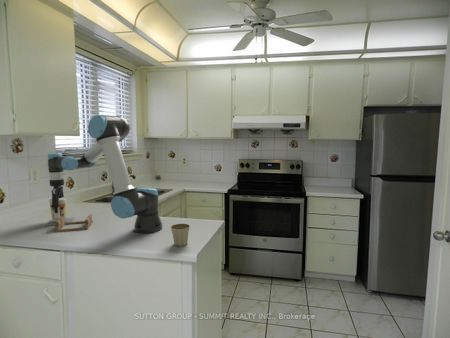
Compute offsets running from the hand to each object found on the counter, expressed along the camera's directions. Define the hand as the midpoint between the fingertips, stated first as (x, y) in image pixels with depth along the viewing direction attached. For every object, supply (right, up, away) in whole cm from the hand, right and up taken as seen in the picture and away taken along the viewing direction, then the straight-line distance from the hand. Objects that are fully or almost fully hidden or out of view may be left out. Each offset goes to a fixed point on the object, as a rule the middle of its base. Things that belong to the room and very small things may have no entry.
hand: (59, 216), depth 178 cm
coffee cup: (0, -2, 0) cm, 2 cm away
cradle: (+14, -5, -8) cm, 17 cm away
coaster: (0, -4, 0) cm, 4 cm away
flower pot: (+79, -8, -37) cm, 87 cm away
